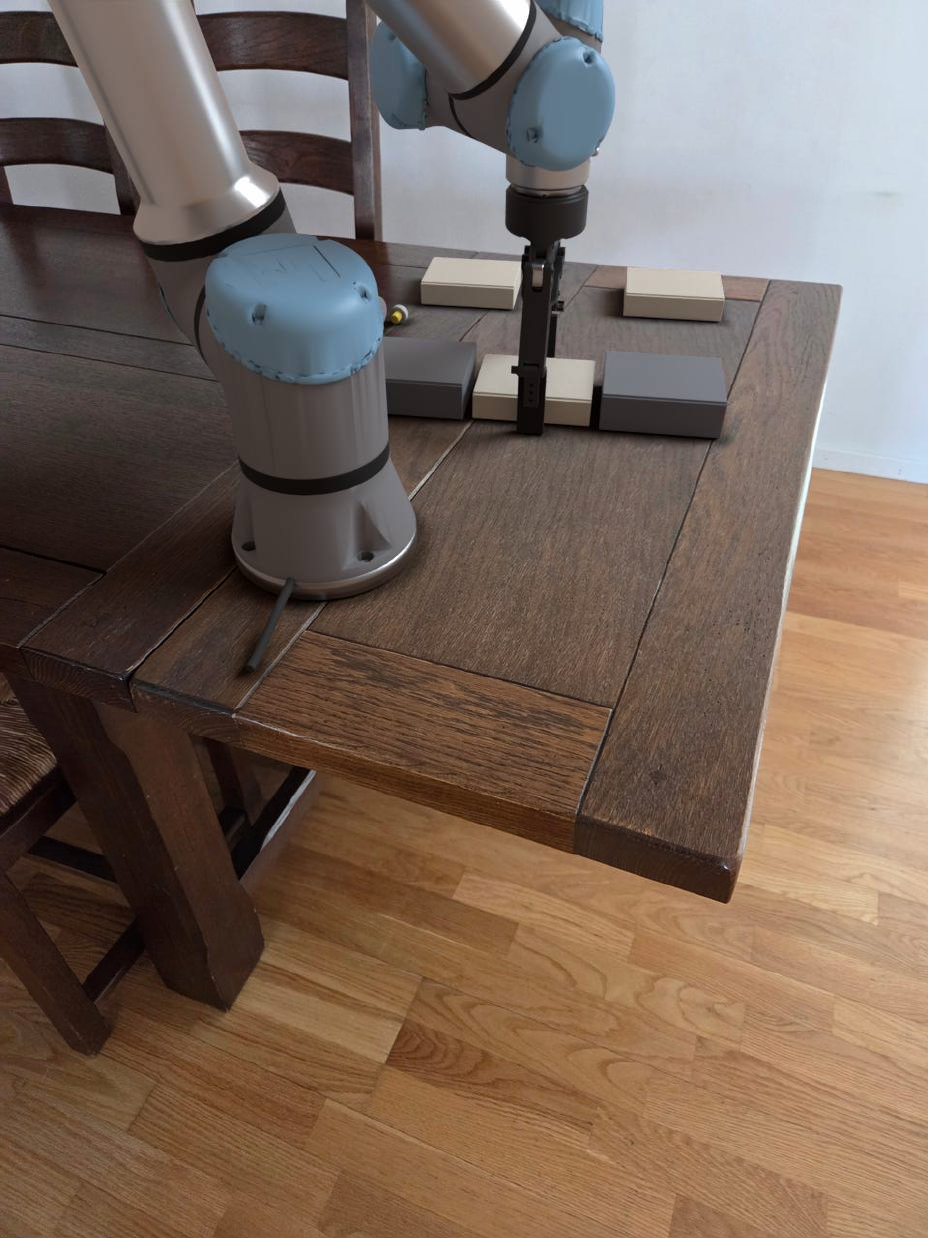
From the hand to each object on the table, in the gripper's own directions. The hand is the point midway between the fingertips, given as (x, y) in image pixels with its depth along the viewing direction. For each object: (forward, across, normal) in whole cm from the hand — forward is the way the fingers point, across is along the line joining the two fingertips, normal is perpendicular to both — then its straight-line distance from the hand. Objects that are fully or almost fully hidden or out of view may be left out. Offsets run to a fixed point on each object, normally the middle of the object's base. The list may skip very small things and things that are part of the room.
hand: (536, 400), depth 92 cm
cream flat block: (0, +29, +11) cm, 31 cm away
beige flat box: (0, 0, 0) cm, 0 cm away
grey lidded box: (0, 0, +13) cm, 13 cm away
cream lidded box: (0, +29, -15) cm, 32 cm away
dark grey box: (0, 0, -13) cm, 13 cm away
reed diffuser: (0, +20, +28) cm, 35 cm away
